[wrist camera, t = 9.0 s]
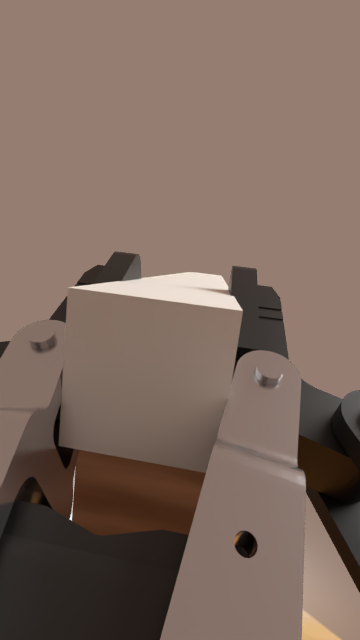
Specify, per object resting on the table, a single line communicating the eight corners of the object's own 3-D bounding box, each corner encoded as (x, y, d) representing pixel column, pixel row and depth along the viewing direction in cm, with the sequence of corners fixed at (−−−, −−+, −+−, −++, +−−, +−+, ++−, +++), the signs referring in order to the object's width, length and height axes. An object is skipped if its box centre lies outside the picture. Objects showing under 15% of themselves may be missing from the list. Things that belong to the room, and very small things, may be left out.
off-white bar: (216, 475, 6) (243, 310, 5) (58, 446, 6) (67, 287, 5) (217, 306, 31) (221, 275, 31) (187, 302, 31) (190, 271, 31)
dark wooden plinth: (210, 820, 23) (288, 415, 17) (54, 775, 24) (81, 382, 19) (213, 597, 39) (255, 345, 33) (119, 575, 40) (144, 329, 34)
